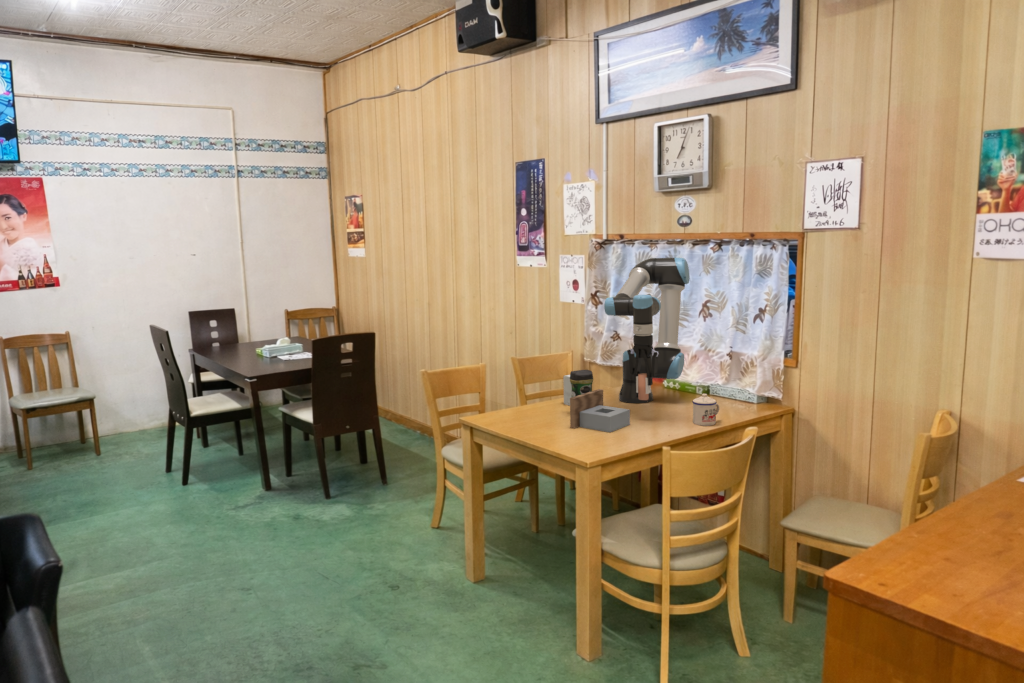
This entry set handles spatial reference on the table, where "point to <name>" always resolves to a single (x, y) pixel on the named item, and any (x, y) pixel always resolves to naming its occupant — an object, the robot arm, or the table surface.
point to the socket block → (605, 418)
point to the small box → (567, 389)
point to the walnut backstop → (584, 405)
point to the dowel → (642, 387)
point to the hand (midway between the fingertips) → (643, 392)
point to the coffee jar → (581, 382)
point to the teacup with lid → (705, 410)
